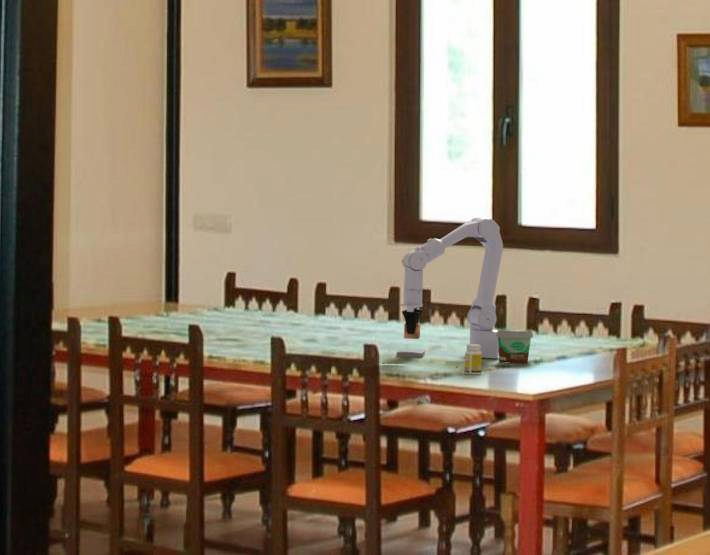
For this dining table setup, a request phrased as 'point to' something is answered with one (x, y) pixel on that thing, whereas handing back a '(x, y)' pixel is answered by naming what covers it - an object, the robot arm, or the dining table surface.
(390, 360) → the dining table surface
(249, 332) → the dining table surface
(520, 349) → the food container
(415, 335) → the terracotta cube
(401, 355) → the slate top slab
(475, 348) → the supplement bottle
